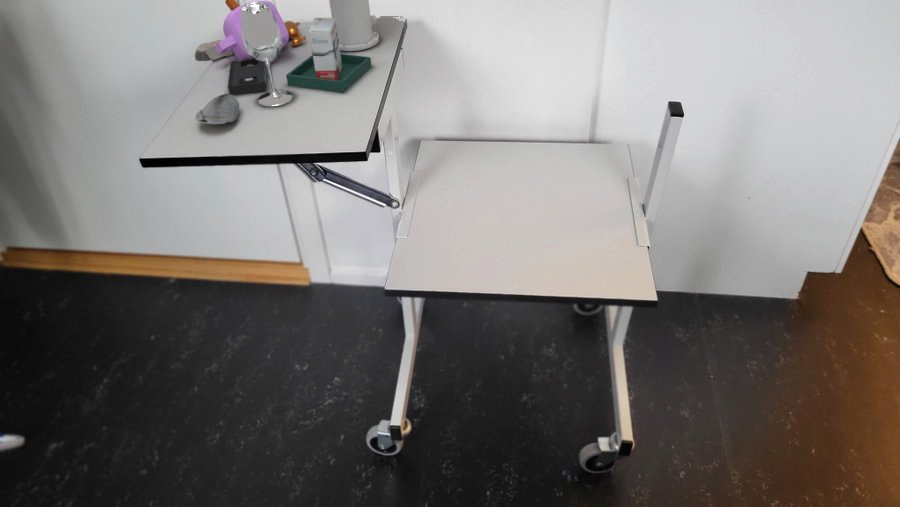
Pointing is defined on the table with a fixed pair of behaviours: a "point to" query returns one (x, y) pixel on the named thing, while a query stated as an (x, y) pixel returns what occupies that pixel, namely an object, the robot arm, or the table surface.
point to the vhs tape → (247, 76)
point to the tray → (348, 76)
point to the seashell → (219, 110)
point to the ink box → (325, 48)
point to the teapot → (235, 32)
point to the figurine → (294, 32)
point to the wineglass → (263, 45)
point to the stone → (210, 52)
